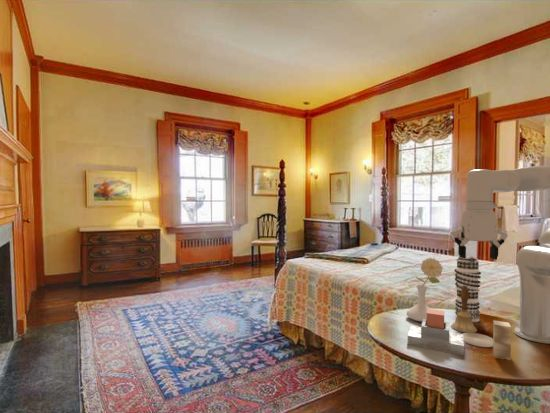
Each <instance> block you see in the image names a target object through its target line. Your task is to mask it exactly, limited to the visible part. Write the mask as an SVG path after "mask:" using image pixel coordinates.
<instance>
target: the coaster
mask: <svg viewBox="0 0 550 413" xmlns="http://www.w3.org/2000/svg"><path fill="white" fill-rule="evenodd" d="M461 334H463V340H464V343H466V344H469V345H471V346H475V347H480V348H493V337H490V336H488V335H487V334H486V335H485V334H482V333H477V332H475V333H466V332H462V333H461Z"/></svg>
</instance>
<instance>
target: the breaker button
mask: <svg viewBox="0 0 550 413" xmlns="http://www.w3.org/2000/svg"><path fill="white" fill-rule="evenodd" d="M444 322H445V310H439V309H432V308H430V309H428V310H427V326H430V327H436V328H442V329H444Z"/></svg>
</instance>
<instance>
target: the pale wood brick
mask: <svg viewBox="0 0 550 413" xmlns="http://www.w3.org/2000/svg"><path fill="white" fill-rule="evenodd" d="M492 325H493V326H492V328H493V329H492V330H493V331H492V339H493V347H492V355H493V358H494V357H495V359H499V358H500V359H501V360H504V359H507V360H506V361H510V360H511V359H512V358H511V355H512V354H511V352H512V351H511V350H512V348H511V347H512V346H511V345H512V326H511V324H510V322H507V321H500V320H494V319H493V320H492Z"/></svg>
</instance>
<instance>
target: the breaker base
mask: <svg viewBox="0 0 550 413" xmlns="http://www.w3.org/2000/svg"><path fill="white" fill-rule="evenodd" d="M407 345H408V346H413V347H418V348H422V349H428V350H433V351H438V352H444V353H448V354H454V355H459V356H465V342H464V340H463V334H462V333H458V332H450V322H448V321H444V329H442V328H436V327H430V326H427V319H423V321H422V322H421V326H415V325H410V328H409V331H408V334H407Z"/></svg>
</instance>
